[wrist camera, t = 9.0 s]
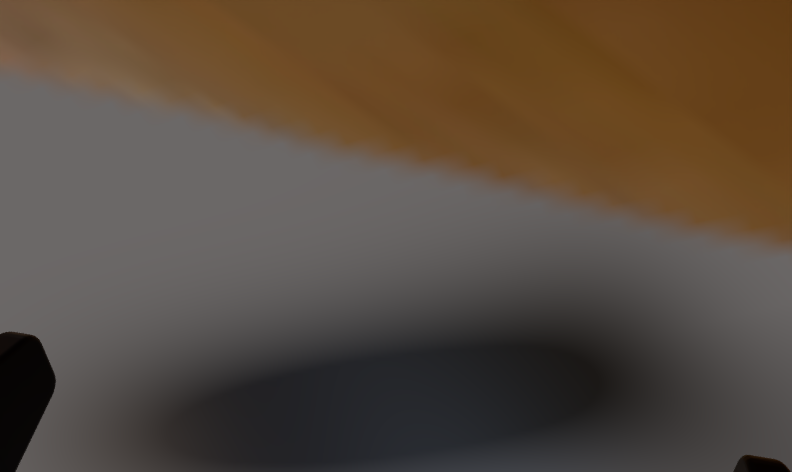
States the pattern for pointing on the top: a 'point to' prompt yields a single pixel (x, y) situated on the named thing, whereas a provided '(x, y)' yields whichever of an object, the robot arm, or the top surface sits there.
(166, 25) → the top surface
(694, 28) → the top surface
